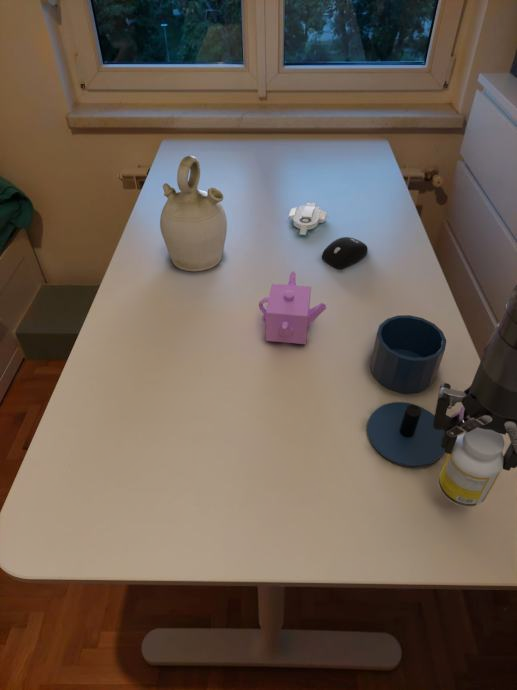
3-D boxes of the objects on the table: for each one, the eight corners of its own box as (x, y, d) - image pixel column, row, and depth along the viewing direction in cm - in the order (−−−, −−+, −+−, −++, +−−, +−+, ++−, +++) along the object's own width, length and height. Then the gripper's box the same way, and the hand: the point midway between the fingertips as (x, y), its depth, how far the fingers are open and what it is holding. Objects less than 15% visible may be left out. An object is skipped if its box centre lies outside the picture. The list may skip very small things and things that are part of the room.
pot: (438, 357, 97) (449, 323, 91) (430, 401, 89) (442, 367, 83) (377, 342, 100) (384, 309, 94) (364, 383, 92) (371, 350, 86)
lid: (449, 417, 86) (459, 392, 81) (441, 479, 77) (452, 454, 73) (374, 398, 89) (380, 372, 85) (359, 454, 81) (364, 429, 76)
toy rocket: (294, 205, 142) (294, 197, 140) (328, 209, 140) (329, 201, 138) (283, 234, 130) (283, 226, 129) (320, 238, 129) (320, 230, 127)
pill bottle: (475, 466, 73) (500, 416, 65) (493, 507, 68) (522, 458, 60) (431, 469, 72) (450, 419, 65) (445, 510, 68) (468, 461, 60)
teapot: (321, 365, 95) (325, 327, 89) (252, 359, 97) (251, 321, 90) (325, 306, 108) (329, 269, 102) (264, 302, 110) (264, 264, 103)
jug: (241, 253, 124) (237, 153, 107) (199, 283, 115) (188, 179, 98) (195, 234, 131) (185, 137, 113) (152, 261, 122) (134, 160, 104)
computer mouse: (374, 254, 123) (377, 240, 120) (339, 272, 118) (341, 257, 115) (352, 241, 127) (354, 227, 125) (317, 258, 122) (319, 244, 119)
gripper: (446, 373, 53) (415, 463, 64) (598, 409, 49) (537, 498, 60) (453, 329, 58) (423, 419, 69) (591, 359, 54) (536, 449, 65)
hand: (476, 456), depth 65 cm, fingers closed on pill bottle, 6 cm apart
